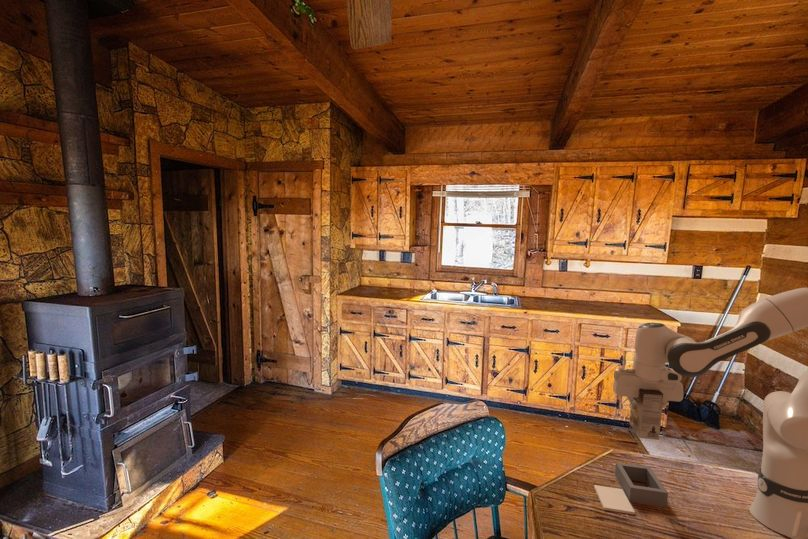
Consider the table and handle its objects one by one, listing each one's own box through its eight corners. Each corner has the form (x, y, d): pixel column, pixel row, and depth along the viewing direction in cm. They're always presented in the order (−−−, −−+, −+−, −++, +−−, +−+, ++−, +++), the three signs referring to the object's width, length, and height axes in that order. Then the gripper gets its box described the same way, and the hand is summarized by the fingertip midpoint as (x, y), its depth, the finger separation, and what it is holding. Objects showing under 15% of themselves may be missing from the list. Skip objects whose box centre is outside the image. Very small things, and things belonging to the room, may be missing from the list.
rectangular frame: (648, 479, 134) (649, 466, 133) (666, 507, 120) (667, 492, 120) (615, 475, 136) (615, 462, 136) (629, 501, 122) (630, 487, 122)
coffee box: (628, 424, 131) (631, 380, 130) (648, 426, 130) (652, 382, 128) (638, 438, 122) (642, 391, 121) (660, 440, 121) (664, 393, 119)
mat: (622, 491, 127) (622, 489, 127) (634, 514, 117) (634, 512, 117) (593, 487, 129) (594, 484, 129) (603, 509, 119) (603, 507, 119)
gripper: (617, 371, 123) (615, 410, 125) (687, 376, 119) (684, 418, 120) (611, 364, 130) (609, 402, 131) (677, 369, 125) (674, 409, 126)
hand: (645, 410), depth 125 cm, fingers closed on coffee box, 6 cm apart
